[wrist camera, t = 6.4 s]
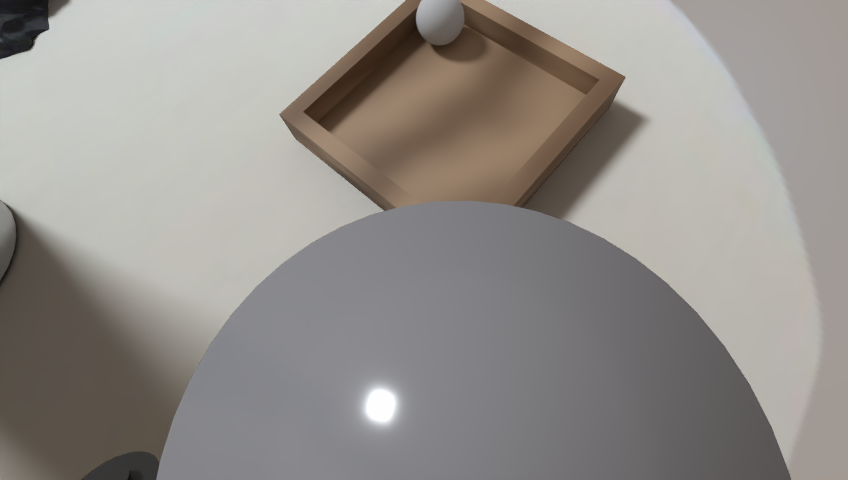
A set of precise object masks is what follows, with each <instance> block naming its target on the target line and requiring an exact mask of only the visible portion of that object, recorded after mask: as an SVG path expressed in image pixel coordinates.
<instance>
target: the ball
mask: <svg viewBox="0 0 848 480" xmlns="http://www.w3.org/2000/svg"><path fill="white" fill-rule="evenodd" d="M416 23H417V28H418V30H419V32H420V34H421V36H422V37H423V38H424V39H425V40H426V41H427V42H429V43H431V44H434V45H446V44H449V43H451V42H452V41H454V40H455V39H456V38H457V37H458V35H459V34H460V32H461V30H462V28H463V24H464V10H463V7H462V4H461V2H460V1H459V0H422V1H421V2H420V4H419V6H418V9H417V13H416Z"/></svg>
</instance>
